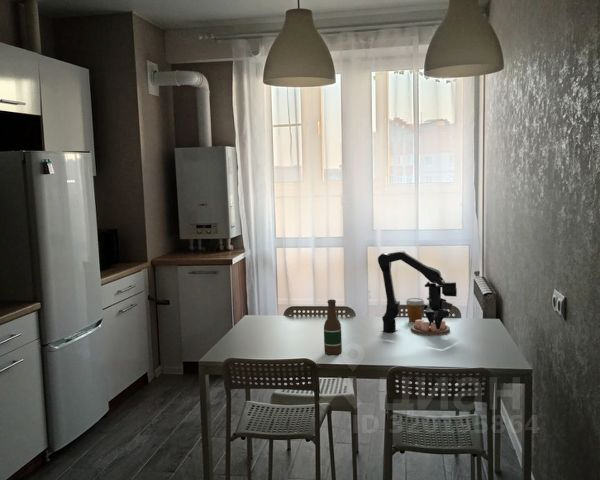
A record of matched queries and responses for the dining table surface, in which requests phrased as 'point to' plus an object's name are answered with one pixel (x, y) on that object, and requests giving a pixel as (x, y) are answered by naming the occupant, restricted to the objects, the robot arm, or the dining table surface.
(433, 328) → the bead
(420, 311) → the beer glass
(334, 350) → the beer bottle
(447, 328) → the tray
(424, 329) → the seated bead
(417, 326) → the seated bead
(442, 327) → the bead
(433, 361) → the dining table surface
